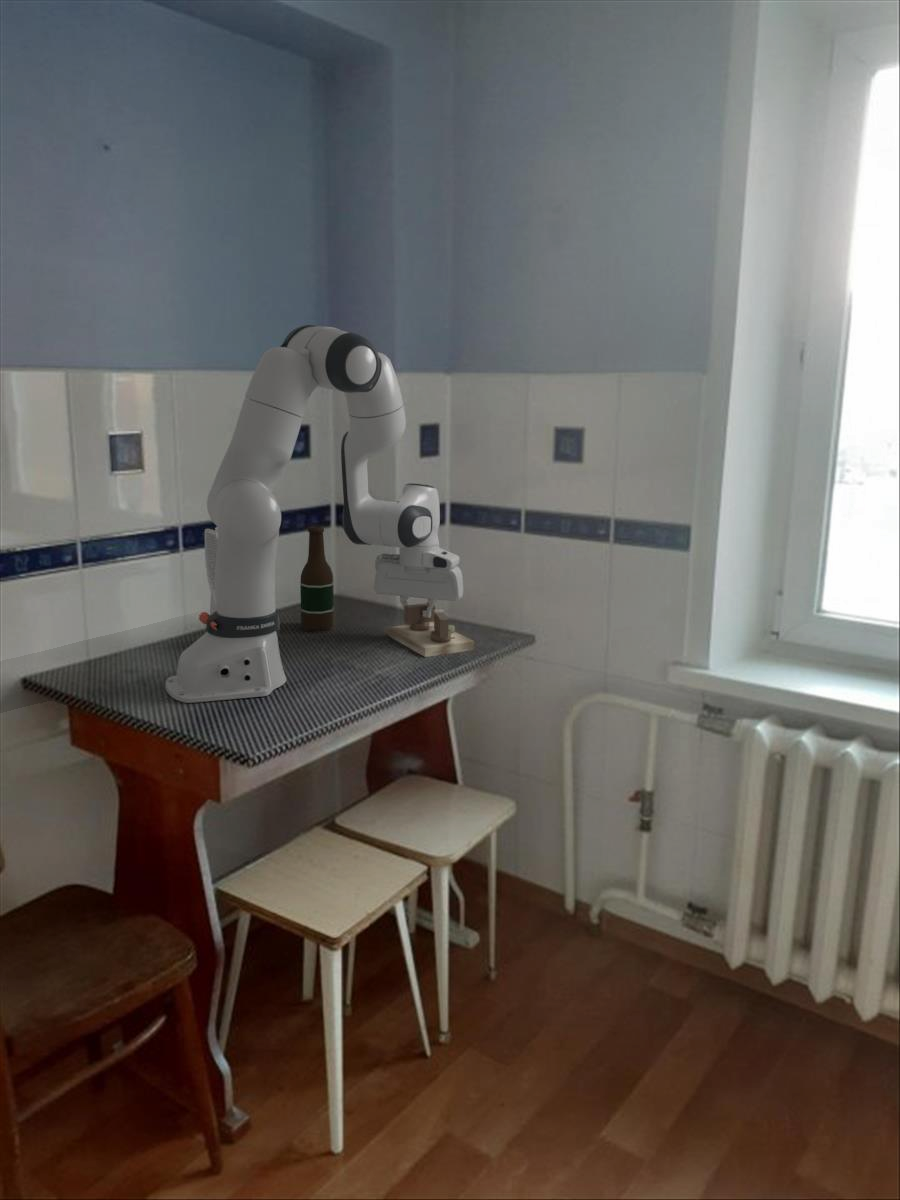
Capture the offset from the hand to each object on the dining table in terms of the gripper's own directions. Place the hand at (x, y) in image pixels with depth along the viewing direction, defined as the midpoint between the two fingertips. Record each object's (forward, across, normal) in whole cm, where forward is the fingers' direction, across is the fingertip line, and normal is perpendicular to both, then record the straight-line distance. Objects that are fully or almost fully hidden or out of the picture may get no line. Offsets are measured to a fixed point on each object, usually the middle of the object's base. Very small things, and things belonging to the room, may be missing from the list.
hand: (417, 616), depth 210 cm
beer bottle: (+5, -24, -1) cm, 25 cm away
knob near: (+3, +8, -6) cm, 10 cm away
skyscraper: (+6, -37, -21) cm, 43 cm away
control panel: (+5, +4, -3) cm, 7 cm away
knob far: (+3, 0, 0) cm, 3 cm away
